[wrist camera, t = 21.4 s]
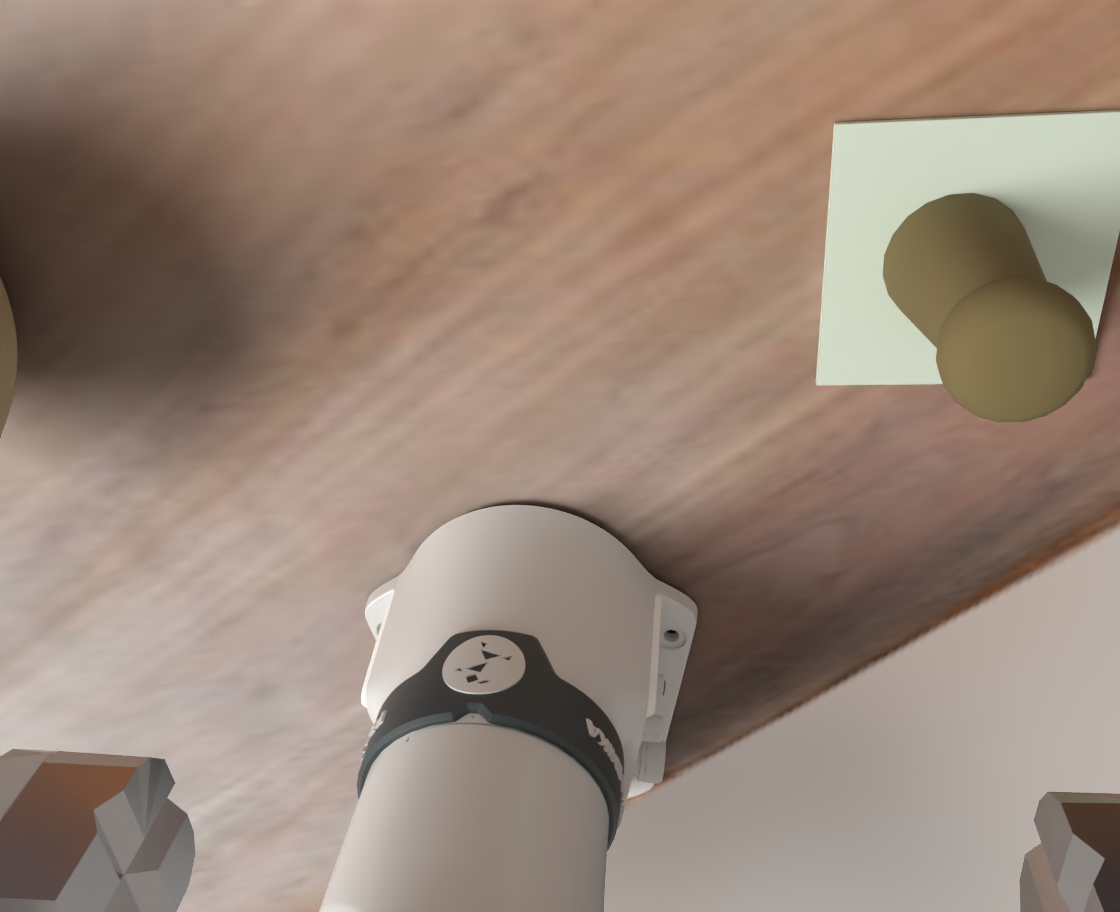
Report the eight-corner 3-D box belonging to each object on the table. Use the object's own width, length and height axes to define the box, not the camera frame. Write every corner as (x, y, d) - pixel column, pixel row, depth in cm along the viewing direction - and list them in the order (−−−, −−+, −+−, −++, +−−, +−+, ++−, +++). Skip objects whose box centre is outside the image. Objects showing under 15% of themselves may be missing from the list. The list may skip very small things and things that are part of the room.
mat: (1082, 378, 46) (1085, 382, 45) (815, 381, 47) (816, 385, 47) (1142, 108, 39) (1146, 110, 39) (834, 122, 41) (835, 124, 41)
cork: (930, 169, 41) (1002, 260, 32) (1058, 226, 42) (1164, 331, 32) (856, 295, 44) (901, 410, 35) (975, 345, 45) (1051, 472, 36)
